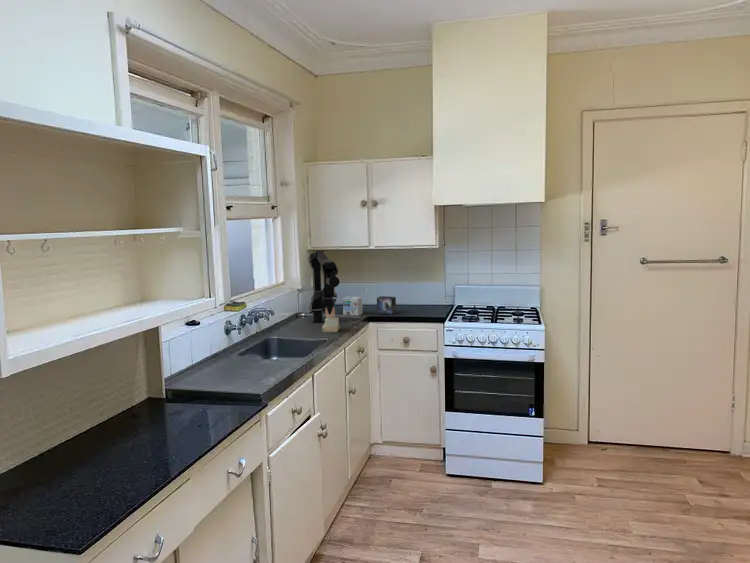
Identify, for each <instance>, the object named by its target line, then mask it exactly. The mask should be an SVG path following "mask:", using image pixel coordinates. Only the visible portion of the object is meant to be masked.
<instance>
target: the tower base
mask: <svg viewBox="0 0 750 563" xmlns="http://www.w3.org/2000/svg"><path fill="white" fill-rule="evenodd" d="M321 327H322V333H338V332H337V331H339V330H340V323H339V324H338V325H337V326H325V323H323V325H322V326H321Z"/></svg>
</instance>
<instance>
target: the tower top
mask: <svg viewBox="0 0 750 563" xmlns="http://www.w3.org/2000/svg"><path fill="white" fill-rule="evenodd" d="M339 321H340V320H339V317H338V316H337V317H336V316H334V317H326V318H324V324H325V326H337V325H338V324H339V325H340V323H339Z"/></svg>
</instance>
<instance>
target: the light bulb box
mask: <svg viewBox="0 0 750 563" xmlns="http://www.w3.org/2000/svg"><path fill="white" fill-rule="evenodd" d="M342 310H343V311H342V314H343V316H354V315H355V316H360V315H363V314H364V312H363V297H362V296H345V297H343V298H342Z"/></svg>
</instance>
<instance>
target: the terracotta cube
mask: <svg viewBox="0 0 750 563" xmlns="http://www.w3.org/2000/svg"><path fill="white" fill-rule="evenodd" d="M335 308H336V307H335V306H334V307H333V309H332V312H331V314H329V313H328V310H327V307H326V309H325V311H324V312H325V317H326V318H328V317H336V313H335V312H336V309H335Z"/></svg>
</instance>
